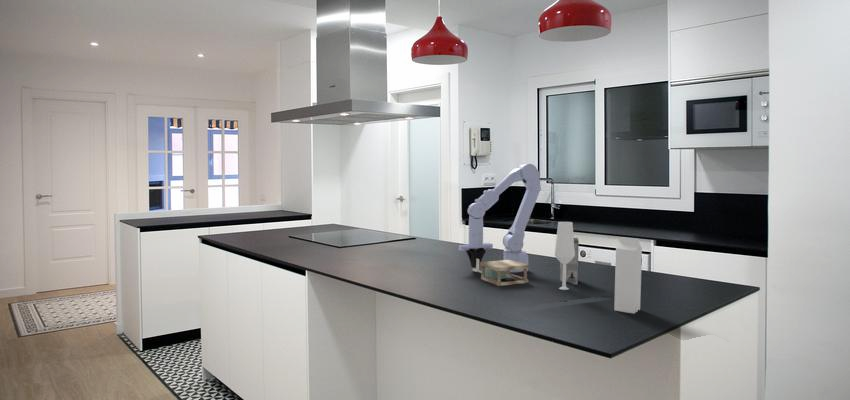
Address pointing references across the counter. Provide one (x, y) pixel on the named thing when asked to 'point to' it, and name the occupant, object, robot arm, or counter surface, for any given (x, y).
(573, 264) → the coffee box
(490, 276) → the block
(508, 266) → the shelf
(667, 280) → the counter surface
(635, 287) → the milk
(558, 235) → the champagne flute
